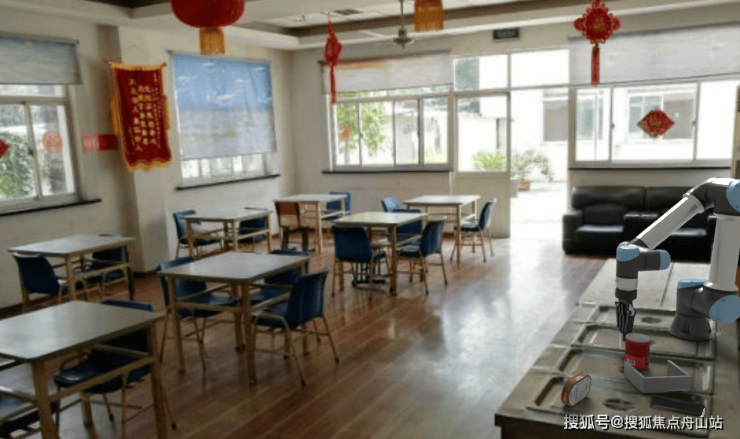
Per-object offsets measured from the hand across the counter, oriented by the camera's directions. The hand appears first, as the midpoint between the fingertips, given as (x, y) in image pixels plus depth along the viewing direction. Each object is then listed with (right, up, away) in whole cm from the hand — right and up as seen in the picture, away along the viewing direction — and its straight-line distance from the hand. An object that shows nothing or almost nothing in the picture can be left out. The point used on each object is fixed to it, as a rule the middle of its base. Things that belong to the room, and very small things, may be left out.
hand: (623, 348), depth 223 cm
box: (+1, -6, -24) cm, 25 cm away
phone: (-1, -10, -40) cm, 42 cm away
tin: (-30, -9, -35) cm, 47 cm away
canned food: (0, -4, -10) cm, 11 cm away
